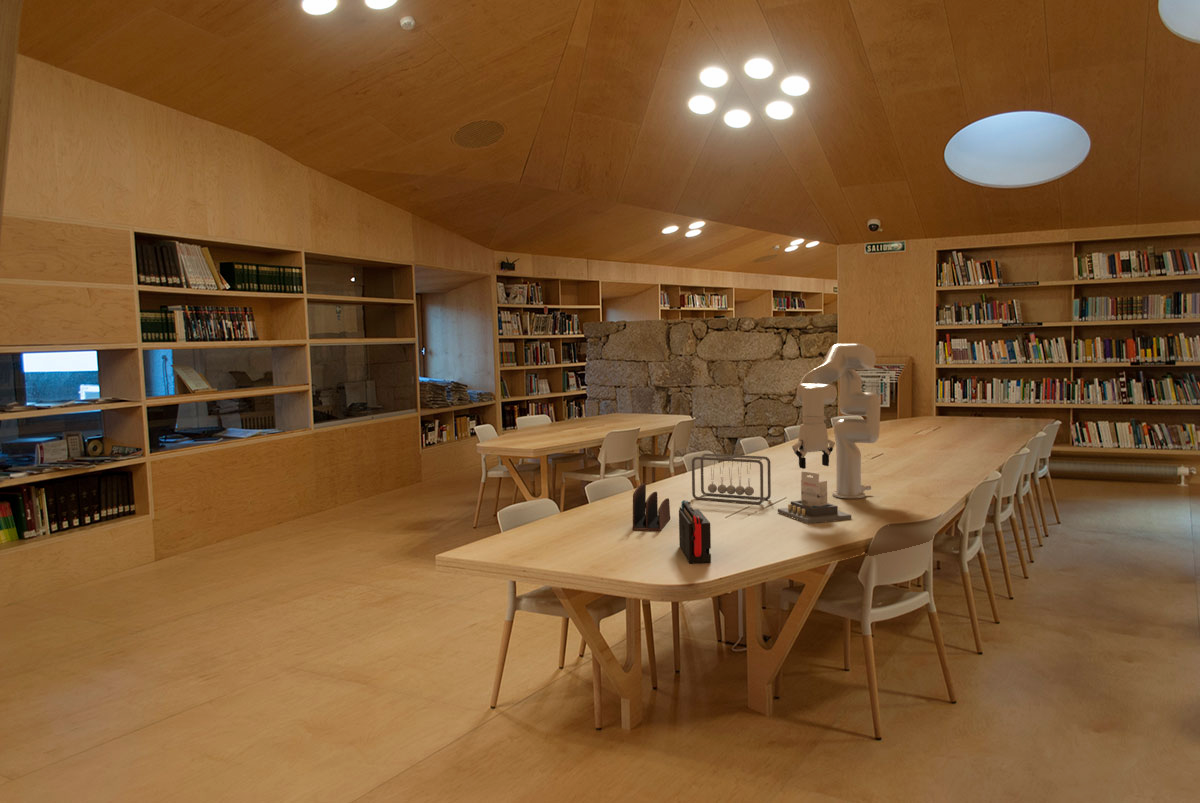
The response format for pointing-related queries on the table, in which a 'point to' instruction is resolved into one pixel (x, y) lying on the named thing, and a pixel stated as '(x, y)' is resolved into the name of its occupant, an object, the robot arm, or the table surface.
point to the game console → (694, 534)
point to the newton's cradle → (731, 488)
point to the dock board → (813, 512)
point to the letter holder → (649, 511)
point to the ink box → (813, 490)
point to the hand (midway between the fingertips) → (814, 466)
